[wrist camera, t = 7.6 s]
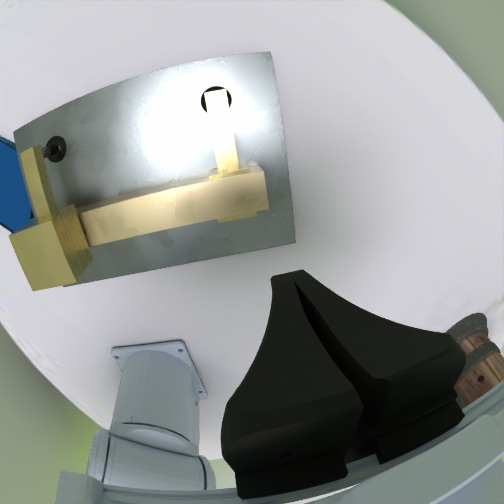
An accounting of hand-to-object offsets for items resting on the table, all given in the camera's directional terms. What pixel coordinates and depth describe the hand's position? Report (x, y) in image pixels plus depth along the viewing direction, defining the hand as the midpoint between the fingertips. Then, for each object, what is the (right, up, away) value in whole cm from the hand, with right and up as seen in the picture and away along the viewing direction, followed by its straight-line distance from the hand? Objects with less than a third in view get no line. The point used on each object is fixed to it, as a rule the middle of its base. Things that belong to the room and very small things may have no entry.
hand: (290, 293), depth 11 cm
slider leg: (-15, +6, +6) cm, 17 cm away
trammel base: (-9, +7, +7) cm, 14 cm away
